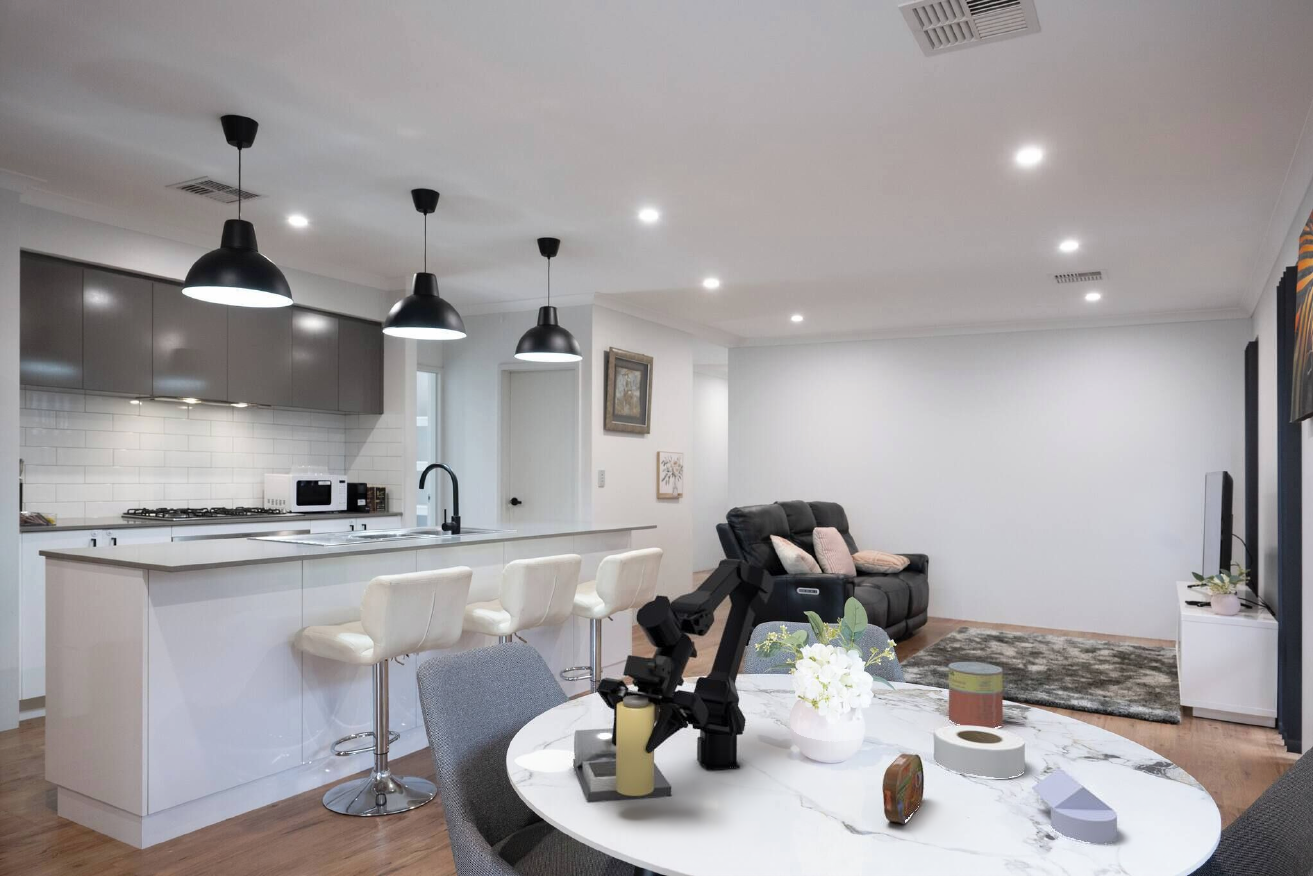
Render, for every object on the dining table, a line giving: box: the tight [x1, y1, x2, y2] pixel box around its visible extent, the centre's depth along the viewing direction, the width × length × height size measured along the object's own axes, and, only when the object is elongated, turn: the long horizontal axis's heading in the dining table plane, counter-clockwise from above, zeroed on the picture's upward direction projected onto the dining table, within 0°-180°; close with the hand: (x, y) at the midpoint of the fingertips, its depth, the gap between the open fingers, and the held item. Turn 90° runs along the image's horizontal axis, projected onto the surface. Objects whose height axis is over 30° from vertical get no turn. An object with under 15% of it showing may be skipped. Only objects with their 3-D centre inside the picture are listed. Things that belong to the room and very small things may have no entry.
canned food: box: [947, 661, 1004, 728], centre depth 187 cm, size 11×11×12 cm
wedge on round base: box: [1030, 767, 1118, 845], centre depth 132 cm, size 9×7×13 cm
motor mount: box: [572, 727, 672, 803], centre depth 148 cm, size 14×17×8 cm
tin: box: [881, 753, 925, 825], centre depth 136 cm, size 15×3×8 cm, turn 148°
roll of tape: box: [933, 725, 1026, 778], centre depth 159 cm, size 16×16×6 cm
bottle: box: [616, 696, 656, 796], centre depth 134 cm, size 6×6×14 cm
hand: (630, 748), depth 133 cm, fingers closed on bottle, 6 cm apart
